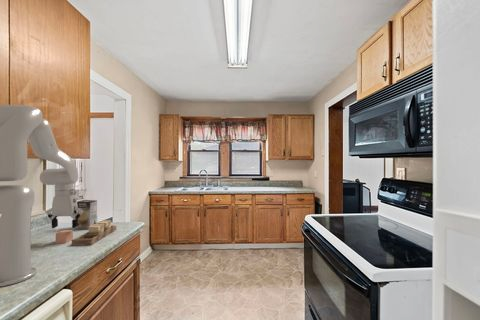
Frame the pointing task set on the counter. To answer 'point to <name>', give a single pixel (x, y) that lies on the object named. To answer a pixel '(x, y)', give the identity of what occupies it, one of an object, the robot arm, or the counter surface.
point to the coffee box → (87, 214)
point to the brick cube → (64, 236)
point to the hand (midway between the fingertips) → (64, 227)
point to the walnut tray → (92, 237)
